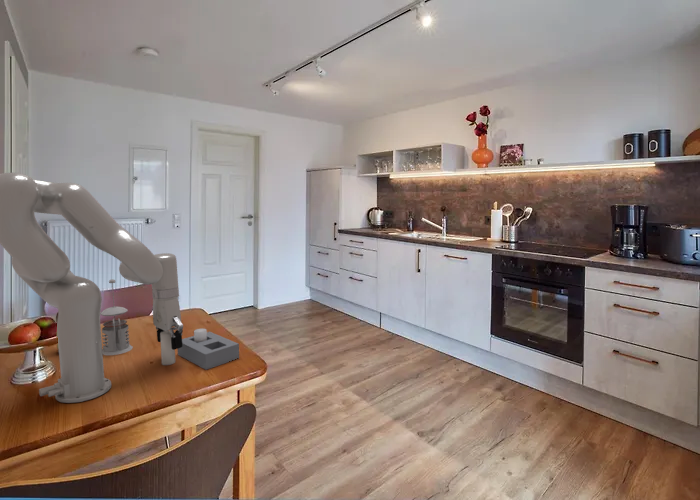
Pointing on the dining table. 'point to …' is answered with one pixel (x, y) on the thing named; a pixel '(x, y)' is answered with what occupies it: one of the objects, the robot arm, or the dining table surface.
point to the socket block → (208, 349)
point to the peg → (167, 348)
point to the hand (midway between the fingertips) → (169, 344)
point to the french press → (115, 331)
